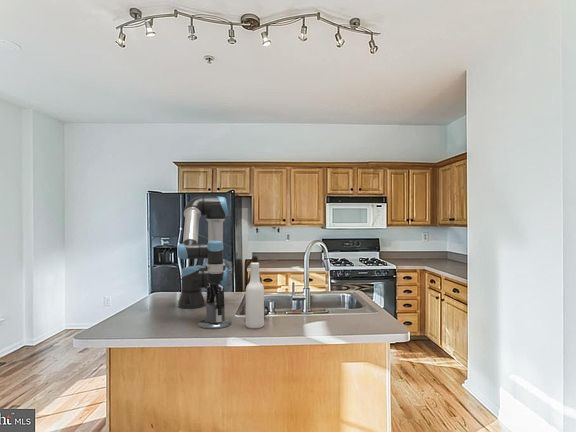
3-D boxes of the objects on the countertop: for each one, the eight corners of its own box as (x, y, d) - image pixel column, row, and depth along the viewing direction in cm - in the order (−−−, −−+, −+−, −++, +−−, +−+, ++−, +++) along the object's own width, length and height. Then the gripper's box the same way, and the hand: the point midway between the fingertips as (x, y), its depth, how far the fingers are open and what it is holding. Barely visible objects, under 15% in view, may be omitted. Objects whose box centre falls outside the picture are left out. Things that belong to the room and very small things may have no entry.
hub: (192, 323, 179) (192, 309, 179) (221, 318, 189) (221, 304, 189) (207, 331, 167) (207, 315, 167) (238, 324, 177) (238, 310, 177)
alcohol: (246, 323, 179) (247, 261, 180) (264, 323, 179) (265, 262, 180) (244, 328, 170) (244, 264, 171) (263, 329, 170) (263, 264, 171)
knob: (206, 320, 179) (206, 302, 179) (218, 318, 183) (218, 300, 183) (212, 323, 174) (212, 304, 174) (224, 321, 178) (224, 302, 178)
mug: (265, 323, 180) (265, 304, 181) (243, 320, 184) (243, 302, 184) (272, 318, 189) (272, 300, 189) (251, 316, 193) (251, 299, 193)
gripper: (199, 271, 184) (199, 317, 183) (218, 275, 169) (217, 326, 168) (212, 269, 188) (212, 315, 188) (232, 274, 173) (232, 323, 173)
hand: (215, 320), depth 178 cm, fingers closed on knob, 6 cm apart
